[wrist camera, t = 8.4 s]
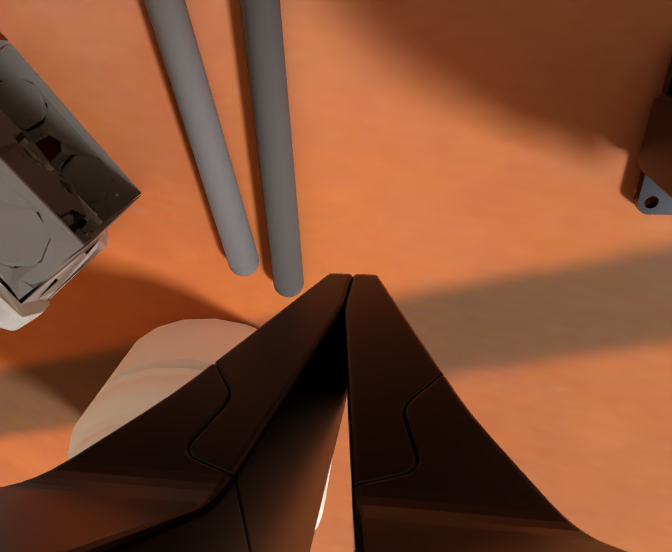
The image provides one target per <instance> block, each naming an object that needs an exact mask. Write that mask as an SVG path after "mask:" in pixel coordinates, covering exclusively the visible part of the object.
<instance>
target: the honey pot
mask: <svg viewBox="0 0 672 552" xmlns="http://www.w3.org/2000/svg"><path fill="white" fill-rule="evenodd" d="M256 330H257V329H256V328H254V327H252V326H249V325H247V324H241V323H236V322H231V321H226V320H220V319H215V318H213V319H184V320H180V321H177V322H173V323H170V324H166V325H163V326H159V327H157V328H155V329H154V330H152V331H151V332H149V333H148V334H146V335H144V336H143V337H141V338H140V339H138V340H137V341H136V343H135V344H134V345H133V347H132V348H131V349H130V351H129V352H128V353H127V355H126V356H125V357H124V359H123V360H122V361H121V363H120V364H119V366H118V367H117V368H116V370H115V371H114V372H113V374H112V375H111V376H110V378H109V379H108V380H107V382H106V383H105V385H104V386H103V387H102V389H101V390H100V391H99V393H98V394H97V395H96V397H95V398H94V400H93V401H92V402H91V404H90V405H89V406H88V408H87V409H86V410H85V412H84V413H83V415H82V416H81V417H80V419H79V420H78V421H77V423H76V425H75V427H74V430H73V432H72V435H71V440H70V445H69V449H68V454H67V455H68V460H69V459H71V458H72V457H74V456H75V455H77V454H79V453H80V452H82V451H83V450H85V449H87V448H88V447H90V446H91V445H93V444H95V443H96V442H98V441H99V440H101V439H102V438H104V437H106V436H107V435H109V434H110V433H112V432H114V431H115V430H117V429H118V428H120V427H121V426H123V425H125V424H126V423H128V422H129V421H131V420H133V419H134V418H136V417H137V416H139V415H141V414H142V413H144V412H145V411H147V410H148V409H150V408H151V407H153V406H154V405H156V404H157V403H159V402H160V401H162V400H163V399H165V398H166V397H168V396H169V395H171V394H172V393H174V392H175V391H176V390H178V389H179V388H181V387H182V386H183V385H185V384H186V383H187V382H189V381H190V380H192V379H193V378H194V377H196V376H197V375H198V374H200V373H201V372H202V371H204V370H205V369H206V368H207V367H209V366H210V365H211V364H215V362H216V361H217V360H218V359H219V358H221V357H222V356H223V355H225V354H226V353H227V352H229V351H230V350H231V349H232V348H234V347H235V346H236V345H238V344H239V343H240V342H242V341H243V340H244V339H245V338H247V337H248V336H249V335H251V334H252V333H253V332H255V331H256ZM68 460H67V461H68ZM331 463H332V461H331ZM330 469H331V465H330ZM330 469H329V474H330ZM329 474H328V478H327V482H326V486H325V490H324V494H323V499H322V503H321V507H320V511H319V515H318V519H317V524H316V528H317V527H318V524H319V522H320V519H321V517H322V513H323V508H324V503H325V499H326V490H327V486H328V481H329ZM316 528H315V529H316Z"/></svg>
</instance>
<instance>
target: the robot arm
mask: <svg viewBox="0 0 672 552" xmlns="http://www.w3.org/2000/svg"><path fill="white" fill-rule="evenodd" d="M637 166H638V167H639V168H640V169H641V174H640V178H639V182H638V186H637V189H636V193H635V197H634V204H635V206H636V207H637V209H638V210H639V211H641V212H642V213H644V214H662V215H672V58H671V62H670V66H669V69H668V73H667V77H666V81H665V84H664V88H663V92H662V93H661V94H660V95H659V96H658V97H656V98H655V99H654V101H653V105H652V109H651V113H650V117H649V120H648V124H647V128H646V132H645V136H644V140H643V143H642V147H641V151H640V155H639V159H638V163H637ZM652 196H655V199H654V201H653V202H652V203H650V204H646V205H645V204H644V202H645V200H646V199H647V198H649V197H652ZM346 397H347V399H348V424H349V449H350V473H351V498H352V522H353V547H354V552H627V551H624V550H621V549H619V548H616V547H614V546H611V545H608V544H606V543H603V542H601V541H599V540H597V539H595V538H593V537H591V536H589V535H588V534H586V533H584V532H583V531H582V530H580V529H579V528H578V527H576V526H575V525H573V524H572V523H571V522H570V521H569V520H568V519H567V518H565V517H564V516H563V515H562V514H561V513H560V512H559V511H558V510H557V509H556V508H555V507H554V506H553V505H552V504H551V503H550V502H549V501H548V500H547V499H546V497H545V496H544V495H543V494H542V493H541V492H540V491H539V490H538V489H537V487H536V486H535V485H534V484H533V483H532V482H531V481H530V480H529V479H528V478H527V476H526V475H525V474H524V473H523V472H522V471H521V470H520V469H519V468H518V466H517V465H516V464H515V463H514V462H513V461H512V460H511V459H510V458H509V456H508V455H507V454H506V453H505V452H504V451H503V450H502V449H501V448H500V447H499V445H498V444H497V443H496V442H495V441H494V440H493V439H492V438H491V436H490V435H489V434H488V433H487V432H486V431H485V429H484V428H483V427H482V426H481V425H480V424H479V422H478V421H477V420H476V419H475V418H474V417H473V415H472V414H471V413H470V411H469V410H468V409H467V407H466V406H465V405H464V403H463V402H462V401H461V399H460V398H459V396H458V395H457V394H456V392H455V391H454V389H453V388H452V386H451V385H450V383H449V382H448V380H447V379H446V377H444V376H443V373H442V372H441V370H440V369H439V367H438V366H437V364H436V363H435V361H434V360H433V358H432V357H431V355H430V354H429V352H428V351H427V349H426V348H425V346H424V345H423V343H422V342H421V340H420V339H419V337H418V336H417V334H416V333H415V331H414V330H413V328H412V327H411V325H410V324H409V322H408V321H407V319H406V318H405V316H404V315H403V313H402V312H401V310H400V309H399V307H398V306H397V305H396V303H395V302H394V300H393V299H392V297H391V296H390V294H389V293H388V291H387V290H386V288H385V287H384V285H383V284H382V282H381V281H380V279H379V278H378V276H376V275H366V274H356V275H354V277H352V275H350V274H329V275H327V276H326V277H325V278H323V279H322V280H321V281H320V282H318V283H317V284H316V285H314V286H313V287H312V288H310V289H309V290H308V291H307V292H305V293H304V294H303V295H301V296H300V297H299V298H297V299H296V300H295V301H294V302H292V303H291V304H290V305H288V306H287V307H286V308H284V309H283V310H282V311H281V312H279V313H278V314H277V315H275V316H274V317H273V318H271V319H270V320H269V321H268V322H266V323H265V324H264V325H262V326H261V327H260V328H258V329H257V330H256V331H255V332H253V333H252V334H251V335H249V336H248V337H247V338H245V339H244V340H243V341H242V342H240V343H239V344H238V345H236V346H235V347H234V348H232V349H231V350H230V351H229V352H227V353H226V354H225V355H223V356H222V357H221V358H219V359H218V360H217V361H216V362H215V364H211V365H210V366H209V367H207V368H206V369H205V370H204V371H202V372H201V373H200V374H198V375H197V376H196V377H194V378H193V379H192V380H190V381H189V382H187V383H186V384H185V385H183V386H182V387H181V388H179V389H178V390H176V391H175V392H174V393H172V394H171V395H169V396H168V397H166V398H165V399H163V400H162V401H160V402H159V403H157V404H156V405H154V406H153V407H151V408H150V409H148V410H147V411H145V412H144V413H142V414H141V415H139V416H137V417H136V418H134V419H133V420H131V421H129V422H128V423H126V424H125V425H123V426H121V427H120V428H118V429H117V430H115V431H114V432H112V433H110V434H109V435H107V436H106V437H104V438H102V439H101V440H99V441H98V442H96V443H95V444H93V445H91V446H90V447H88V448H87V449H85V450H83V451H82V452H80V453H79V454H77V455H75V456H74V457H72V458H71V459H69V460H68V461H66V462H64V463H63V464H61V465H59V466H57V467H56V468H54V469H52V470H50V471H48V472H46V473H44V474H42V475H40V476H37V477H35V478H32V479H29V480H26V481H23V482H20V483H16V484H12V485H8V486H4V487H0V552H310V548H311V544H312V540H313V536H314V532H315V528H316V524H317V519H318V515H319V511H320V507H321V503H322V499H323V494H324V490H325V486H326V482H327V478H328V474H329V469H330V465H331V461H332V457H333V453H334V449H335V445H336V440H337V436H338V432H339V428H340V424H341V420H342V415H343V411H344V407H345V402H346Z"/></svg>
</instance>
